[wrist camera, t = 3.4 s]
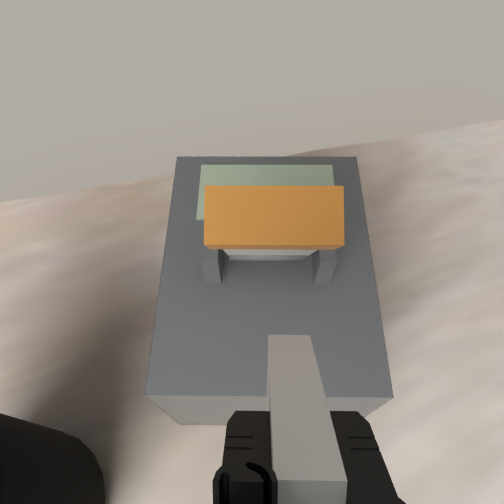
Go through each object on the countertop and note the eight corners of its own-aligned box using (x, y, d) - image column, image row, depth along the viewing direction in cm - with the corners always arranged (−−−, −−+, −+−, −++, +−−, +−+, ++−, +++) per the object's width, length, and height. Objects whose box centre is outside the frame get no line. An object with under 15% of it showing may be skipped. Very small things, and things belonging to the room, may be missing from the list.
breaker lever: (224, 261, 27) (203, 244, 16) (225, 225, 27) (204, 185, 17) (310, 262, 27) (344, 244, 16) (309, 225, 27) (343, 185, 17)
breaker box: (179, 424, 34) (130, 383, 21) (196, 237, 43) (170, 127, 30) (351, 426, 34) (410, 386, 21) (331, 238, 43) (365, 127, 30)
